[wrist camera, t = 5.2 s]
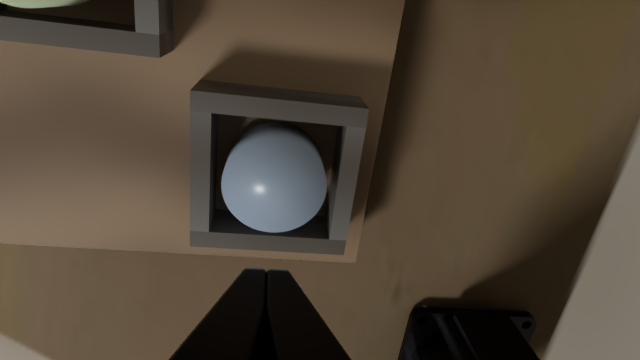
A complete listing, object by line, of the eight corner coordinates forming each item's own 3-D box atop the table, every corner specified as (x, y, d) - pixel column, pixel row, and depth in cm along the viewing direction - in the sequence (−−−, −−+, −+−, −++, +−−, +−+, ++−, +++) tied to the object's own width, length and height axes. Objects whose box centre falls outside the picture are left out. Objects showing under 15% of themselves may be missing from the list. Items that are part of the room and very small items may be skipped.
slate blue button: (316, 211, 15) (320, 235, 14) (225, 205, 15) (219, 229, 13) (328, 126, 14) (333, 142, 12) (229, 117, 13) (223, 132, 12)
